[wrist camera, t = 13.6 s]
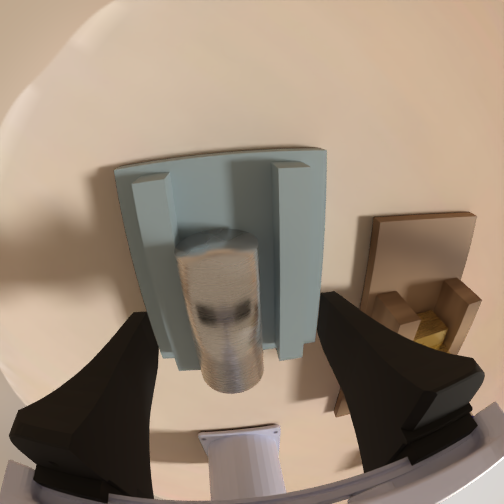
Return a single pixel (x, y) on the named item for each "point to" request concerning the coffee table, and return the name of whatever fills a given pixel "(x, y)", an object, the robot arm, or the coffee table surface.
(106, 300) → the coffee table surface
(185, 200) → the rack
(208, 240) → the shiny metal cylinder
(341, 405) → the socket block
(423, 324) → the tan blocky piece
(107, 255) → the coffee table surface
